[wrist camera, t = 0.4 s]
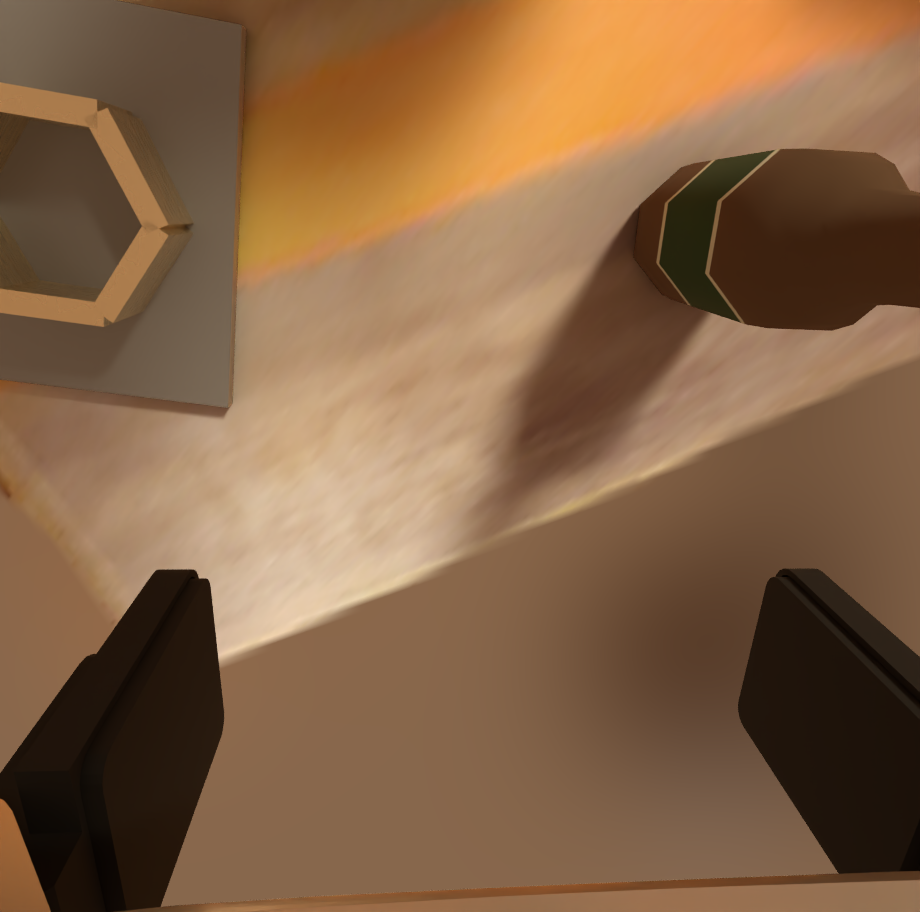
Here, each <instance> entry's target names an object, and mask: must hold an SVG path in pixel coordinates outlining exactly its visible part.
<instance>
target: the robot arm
mask: <svg viewBox="0 0 920 912" xmlns="http://www.w3.org/2000/svg"><path fill="white" fill-rule="evenodd" d="M738 712H739V717H740V720H741V723H742V724H743V726H744V728H745V729H746V731H747V733H748V734H749V736H750V737H751V739H752V740H753V742H754V743H755V745H756V747H757V748H758V750H759V751H760V753H761V754H762V756H763V757H764V759H765V760H766V762H767V764H768V765H769V767H770V768H771V770H772V771H773V773H774V774H775V776H776V777H777V779H778V781H779V782H780V784H781V785H782V787H783V788H784V790H785V791H786V793H787V794H788V796H789V798H790V799H791V800H792V802H793V804H794V805H795V807H796V808H797V810H798V811H799V813H800V815H801V816H802V818H803V819H804V821H805V822H806V824H807V825H808V827H809V828H810V830H811V831H812V833H813V834H814V836H815V838H816V839H817V841H818V842H819V844H820V845H821V847H822V848H823V850H824V852H825V853H826V855H827V856H828V858H829V859H830V861H831V862H832V864H833V865H834V867H835V869H836V870H837V872H838V873H839V874H816V875H788V876H763V877H762V876H760V877H733V878H709V879H684V880H659V881H635V882H613V883H612V882H611V883H588V884H566V885H543V886H520V887H499V888H477V889H456V890H437V891H415V892H394V893H374V894H353V895H333V896H313V897H297V898H281V899H266V900H252V901H236V902H220V903H205V904H191V905H176V906H166V907H160V906H161V904H162V901H163V898H164V895H165V892H166V890H167V887H168V883H169V881H170V878H171V876H172V873H173V870H174V867H175V864H176V862H177V859H178V856H179V853H180V850H181V848H182V845H183V842H184V839H185V836H186V833H187V831H188V828H189V825H190V822H191V820H192V816H193V814H194V811H195V808H196V806H197V802H198V800H199V797H200V794H201V792H202V788H203V786H204V783H205V780H206V778H207V775H208V772H209V769H210V766H211V764H212V761H213V758H214V755H215V752H216V750H217V747H218V744H219V741H220V738H221V735H222V731H223V724H224V708H223V698H222V689H221V680H220V671H219V661H218V652H217V643H216V633H215V624H214V615H213V606H212V596H211V587H210V583H209V580H208V579H199V577H198V574H197V572H196V571H195V570H156V571H155V572H154V573H153V574H152V576H151V577H150V579H149V580H148V582H147V583H146V584H145V586H144V587H143V589H142V590H141V591H140V593H139V594H138V596H137V597H136V599H135V600H134V601H133V603H132V604H131V606H130V607H129V609H128V610H127V611H126V613H125V614H124V616H123V617H122V618H121V620H120V621H119V623H118V624H117V626H116V627H115V628H114V630H113V631H112V633H111V634H110V635H109V637H108V638H107V640H106V641H105V643H104V644H103V645H102V647H101V648H100V650H99V651H98V653H97V654H92V655H90V656H87V657H86V658H85V659H84V660H83V661H82V662H81V663H80V664H79V666H78V667H77V668H76V670H75V671H74V672H73V674H72V675H71V676H70V678H69V679H68V681H67V682H66V683H65V685H64V686H63V688H62V689H61V690H60V692H59V693H58V694H57V696H56V697H55V699H54V700H53V701H52V703H51V704H50V705H49V707H48V708H47V710H46V711H45V712H44V714H43V715H42V716H41V718H40V719H39V721H38V722H37V723H36V725H35V726H34V727H33V729H32V730H31V732H30V733H29V735H28V736H27V737H26V738H25V740H24V741H23V743H22V744H21V745H20V747H19V748H18V749H17V751H16V752H15V754H14V755H13V756H12V758H11V759H10V761H9V762H8V763H7V765H6V766H5V767H4V769H3V771H2V772H1V773H0V912H920V657H919V656H918V655H917V654H916V653H914V652H913V651H912V650H911V649H910V648H909V647H907V646H906V645H905V644H904V643H903V642H902V641H901V640H899V639H898V638H897V637H896V636H895V635H894V634H893V633H891V632H890V631H889V630H888V629H887V628H886V627H885V626H884V625H882V624H881V623H880V622H879V621H878V620H877V619H876V618H874V617H873V616H872V615H871V614H870V613H869V612H868V611H866V610H865V609H864V608H863V607H862V606H861V605H860V604H858V603H857V602H856V601H855V600H854V599H853V598H852V597H850V596H849V595H848V594H847V593H846V592H845V591H844V590H842V589H841V588H840V587H839V586H838V585H837V584H836V583H834V582H833V581H832V580H831V579H830V578H829V577H828V576H826V575H825V574H824V573H823V572H822V571H820V570H818V569H782V570H780V571H779V572H778V573H777V575H776V577H772V578H770V579H769V581H768V582H767V585H766V589H765V593H764V597H763V601H762V605H761V609H760V614H759V618H758V622H757V626H756V630H755V635H754V639H753V643H752V648H751V651H750V656H749V660H748V664H747V668H746V672H745V676H744V681H743V685H742V689H741V694H740V697H739V702H738Z"/></svg>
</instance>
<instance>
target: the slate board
mask: <svg viewBox="0 0 920 912" xmlns="http://www.w3.org/2000/svg"><path fill="white" fill-rule="evenodd" d="M245 53H246V29H245V28H244V27H243V26H242V25H241V24H235V23H230V22H225V21H220V20H215V19H210V18H205V17H199V16H194V15H189V14H184V13H179V12H174V11H169V10H164V9H158V8H153V7H148V6H143V5H138V4H133V3H128V2H123V1H117V0H0V82H1V83H6V84H12V85H18V86H23V87H29V88H35V89H40V90H46V91H52V92H57V93H63V94H69V95H74V96H80V97H86V98H91V99H97V100H100V101H103V102H105V103H108V104H111V105H114V106H117V107H119V108H122V109H125V110H128V111H131V112H132V116H133V117H136V118H139V119H141V120H142V122H143V124H144V126H145V128H146V130H147V132H148V134H149V136H150V138H151V140H152V142H153V144H154V146H155V148H156V150H157V152H158V154H159V156H160V157H161V159H162V161H163V163H164V165H165V167H166V169H167V171H168V173H169V175H170V177H171V179H172V181H173V183H174V185H175V187H176V189H177V191H178V193H179V195H180V197H181V199H182V201H183V203H184V205H185V207H186V209H187V211H188V212H189V214H190V216H191V218H192V220H193V222H194V223H193V224H190V225H188V226H186V228H188V229H189V230H190V231H192V232H193V235H192V237H191V238H190V240H189V241H188V243H187V244H186V246H185V247H184V249H183V250H182V252H181V254H180V255H179V257H178V258H177V260H176V261H175V263H174V264H173V266H172V268H171V269H170V271H169V272H168V274H167V275H166V277H165V278H164V280H163V282H162V283H161V285H160V286H159V288H158V289H157V291H156V292H155V294H154V295H153V297H152V299H151V300H150V302H149V303H148V305H147V306H146V308H145V309H144V311H143V312H141V313H138V314H136V315H134V316H131V317H129V318H126V319H123V320H121V321H118V322H115V323H113V324H110V325H108V326H105V327H101V326H94V325H86V324H79V323H72V322H64V321H57V320H50V319H42V318H35V317H28V316H20V315H13V314H6V313H0V380H8V381H16V382H24V383H32V384H40V385H48V386H56V387H64V388H73V389H81V390H89V391H97V392H105V393H113V394H121V395H129V396H137V397H145V398H153V399H161V400H169V401H177V402H185V403H193V404H201V405H209V406H217V407H225V408H229V406H230V405H231V404H232V401H233V374H234V347H235V321H236V294H237V267H238V240H239V214H240V187H241V160H242V133H243V107H244V80H245ZM0 217H1V218H2V220H3V222H4V223H5V225H6V226H7V228H8V230H9V231H10V233H11V235H12V236H13V238H14V239H15V241H16V243H17V244H18V246H19V248H20V249H21V251H22V252H23V254H24V256H25V257H26V259H27V261H28V262H29V264H30V266H31V267H32V269H33V270H34V272H35V274H36V275H37V277H38V279H39V280H42V281H49V282H56V283H63V284H70V285H77V286H84V287H91V288H98V289H103V288H104V287H105V285H106V283H107V282H108V280H109V278H110V277H111V275H112V274H113V272H114V270H115V269H116V267H117V266H118V264H119V262H120V261H121V259H122V258H123V256H124V254H125V253H126V251H127V249H128V248H129V246H130V245H131V243H132V241H133V240H134V238H135V237H136V235H137V233H138V232H139V230H140V229H141V227H142V225H141V223H140V221H139V219H138V218H137V216H136V214H135V212H134V210H133V208H132V206H131V205H130V203H129V201H128V199H127V197H126V195H125V193H124V192H123V190H122V188H121V186H120V184H119V182H118V180H117V179H116V177H115V175H114V173H113V171H112V169H111V167H110V166H109V164H108V162H107V160H106V158H105V156H104V154H103V153H102V151H101V149H100V147H99V145H98V143H97V141H96V139H95V138H94V136H93V134H92V132H91V130H85V129H79V128H73V127H67V126H62V125H56V124H50V123H44V122H38V121H32V120H29V121H28V123H27V125H26V127H25V129H24V131H23V132H22V134H21V136H20V138H19V140H18V142H17V143H16V145H15V147H14V149H13V151H12V153H11V154H10V156H9V158H8V160H7V162H6V164H5V165H4V167H3V169H2V171H1V173H0Z"/></svg>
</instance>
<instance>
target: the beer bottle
mask: <svg viewBox="0 0 920 912" xmlns="http://www.w3.org/2000/svg"><path fill="white" fill-rule="evenodd" d="M633 257H634V259H635V260H636V261H637V263H638V264H639V265H640V266H641V268H642V269H643V270H644V272H645V273H646V274H647V276H648V277H649V278H650V280H651V281H652V282H653V283H654V285H655V286H656V287H657V289H658V290H659V291H660V293H661V294H662V295H664V296H666V297H668V298H670V299H672V300H675V301H678V302H681V303H684V304H687V305H690V306H693V307H696V308H699V309H702V310H705V311H708V312H711V313H714V314H717V315H720V316H723V317H726V318H729V319H731V320H734V321H737V322H740V323H743V324H747V325H753V326H759V327H764V328H778V329H805V330H835V329H839V328H842V327H846V326H849V325H853V324H854V323H856V322H857V321H858V320H859V319H861V318H862V317H863V316H864V315H866V314H867V313H868V312H869V311H871V310H872V309H873V308H874V307H876V306H877V305H898V306H907V307H917V308H920V193H918V192H914V191H910V190H909V189H908V187H907V185H906V183H905V182H904V180H903V178H902V176H901V175H900V173H899V171H898V169H897V168H896V166H895V164H893V163H892V162H890V161H888V160H886V159H885V158H883V157H881V156H880V155H878V154H876V153H866V152H850V151H834V150H818V149H778V150H772V151H766V152H760V153H754V154H748V155H742V156H736V157H730V158H724V159H718V160H712V161H706V162H700V163H694V164H691V165H688V166H685V167H681V168H680V169H679V170H678V171H677V172H676V173H675V174H673V175H672V176H671V177H670V178H669V179H668V180H667V181H666V182H665V183H664V184H662V185H661V186H660V187H659V188H658V189H657V190H656V191H655V192H654V193H653V194H652V195H650V196H649V197H648V198H647V199H646V200H645V201H644V202H643V203H642V204H641V205H640V212H639V219H638V227H637V234H636V242H635V249H634V256H633Z"/></svg>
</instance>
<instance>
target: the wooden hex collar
mask: <svg viewBox="0 0 920 912" xmlns="http://www.w3.org/2000/svg"><path fill="white" fill-rule="evenodd" d="M29 120H32V121H38V122H44V123H50V124H56V125H62V126H67V127H73V128H79V129H85V130H91V132H92V134H93V136H94V138H95V139H96V141H97V143H98V145H99V147H100V149H101V151H102V153H103V154H104V156H105V158H106V160H107V162H108V164H109V166H110V167H111V169H112V171H113V173H114V175H115V177H116V179H117V180H118V182H119V184H120V186H121V188H122V190H123V192H124V193H125V195H126V197H127V199H128V201H129V203H130V205H131V206H132V208H133V210H134V212H135V214H136V216H137V218H138V219H139V221H140V223H141V225H142V227H141V229H140V230H139V232H138V233H137V235H136V237H135V238H134V240H133V241H132V243H131V245H130V246H129V248H128V249H127V251H126V253H125V254H124V256H123V258H122V259H121V261H120V262H119V264H118V266H117V267H116V269H115V270H114V272H113V274H112V275H111V277H110V278H109V280H108V282H107V283H106V285H105V287H104V288H103V289H98V288H91V287H84V286H77V285H70V284H63V283H56V282H49V281H42V280H39V279H38V277H37V275H36V274H35V272H34V270H33V269H32V267H31V266H30V264H29V262H28V261H27V259H26V257H25V256H24V254H23V252H22V251H21V249H20V248H19V246H18V244H17V243H16V241H15V239H14V238H13V236H12V235H11V233H10V231H9V230H8V228H7V226H6V225H5V223H4V222H3V220H2V218H1V217H0V313H6V314H13V315H20V316H28V317H35V318H42V319H50V320H57V321H64V322H72V323H79V324H86V325H94V326H101V327H105V326H108V325H110V324H113V323H115V322H118V321H121V320H123V319H126V318H129V317H131V316H134V315H136V314H138V313H141V312H143V311H144V309H145V308H146V306H147V305H148V303H149V302H150V300H151V299H152V297H153V295H154V294H155V292H156V291H157V289H158V288H159V286H160V285H161V283H162V282H163V280H164V278H165V277H166V275H167V274H168V272H169V271H170V269H171V268H172V266H173V264H174V263H175V261H176V260H177V258H178V257H179V255H180V254H181V252H182V250H183V249H184V247H185V246H186V244H187V243H188V241H189V240H190V238H191V237H192V235H193V232H192V231H190V230H189V229H188V228H186V226H188V225H190V224H193V223H194V222H193V220H192V218H191V216H190V214H189V212H188V211H187V209H186V207H185V205H184V203H183V201H182V199H181V197H180V195H179V193H178V191H177V189H176V187H175V185H174V183H173V181H172V179H171V177H170V175H169V173H168V171H167V169H166V167H165V165H164V163H163V161H162V159H161V157H160V156H159V154H158V152H157V150H156V148H155V146H154V144H153V142H152V140H151V138H150V136H149V134H148V132H147V130H146V128H145V126H144V124H143V122H142V120H141V119H139V118H136V117H133V116H132V112H131V111H128V110H125V109H122V108H119V107H117V106H114V105H111V104H108V103H105V102H103V101H100V100H97V99H91V98H86V97H80V96H74V95H69V94H63V93H57V92H52V91H46V90H40V89H35V88H29V87H23V86H18V85H12V84H6V83H1V82H0V173H1V171H2V169H3V167H4V165H5V164H6V162H7V160H8V158H9V156H10V154H11V153H12V151H13V149H14V147H15V145H16V143H17V142H18V140H19V138H20V136H21V134H22V132H23V131H24V129H25V127H26V125H27V123H28V121H29Z"/></svg>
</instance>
